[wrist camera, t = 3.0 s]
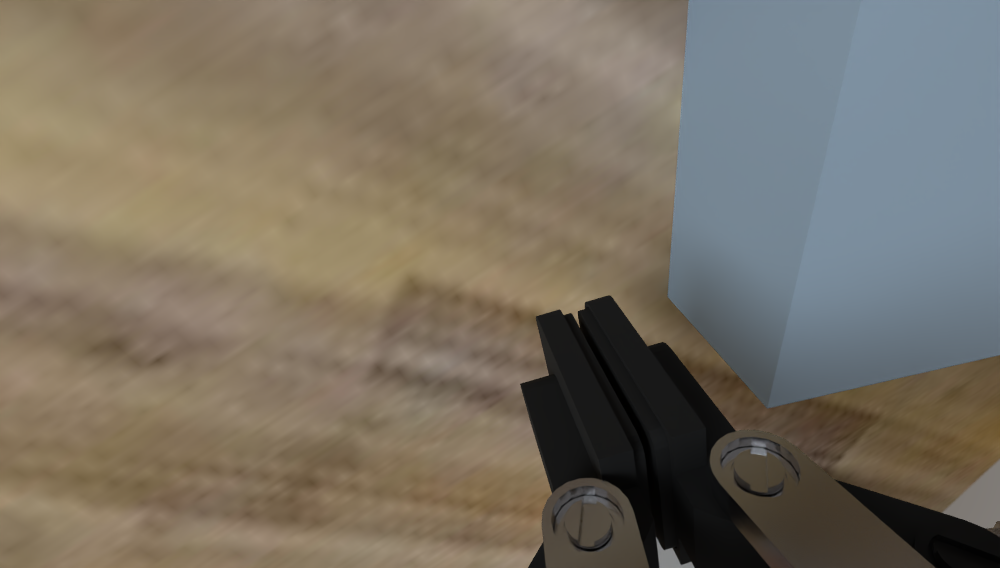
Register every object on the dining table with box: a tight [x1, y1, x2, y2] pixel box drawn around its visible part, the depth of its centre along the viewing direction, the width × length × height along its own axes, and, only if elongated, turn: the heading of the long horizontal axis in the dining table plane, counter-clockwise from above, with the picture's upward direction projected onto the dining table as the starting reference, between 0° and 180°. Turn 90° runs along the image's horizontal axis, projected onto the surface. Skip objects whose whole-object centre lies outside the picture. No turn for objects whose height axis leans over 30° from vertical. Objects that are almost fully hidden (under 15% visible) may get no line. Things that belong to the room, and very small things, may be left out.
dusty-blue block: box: [668, 0, 1000, 408], centre depth 14 cm, size 10×10×6 cm
